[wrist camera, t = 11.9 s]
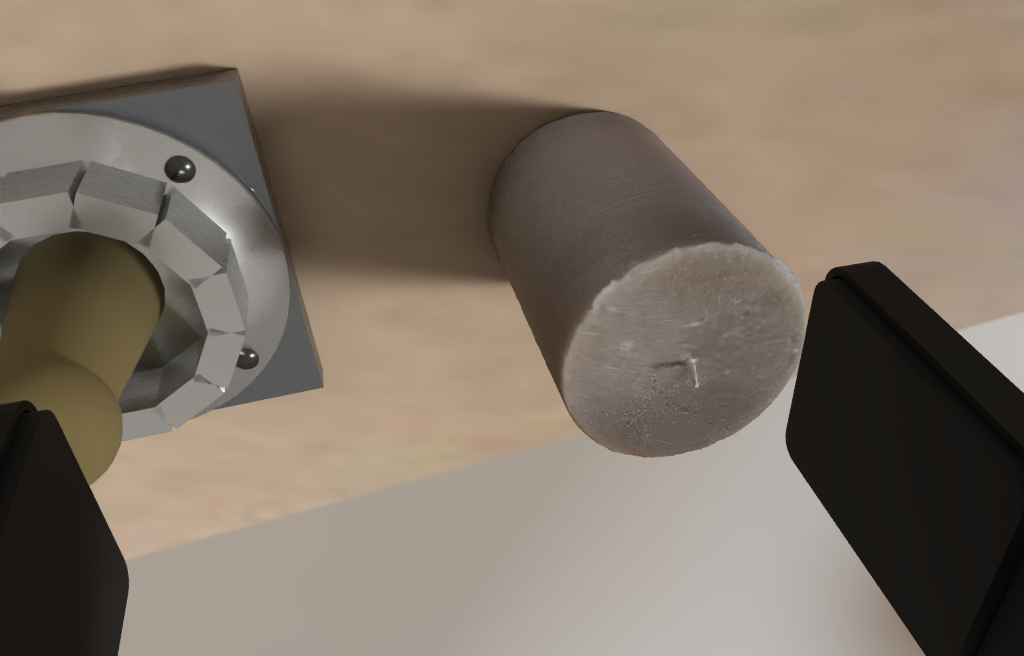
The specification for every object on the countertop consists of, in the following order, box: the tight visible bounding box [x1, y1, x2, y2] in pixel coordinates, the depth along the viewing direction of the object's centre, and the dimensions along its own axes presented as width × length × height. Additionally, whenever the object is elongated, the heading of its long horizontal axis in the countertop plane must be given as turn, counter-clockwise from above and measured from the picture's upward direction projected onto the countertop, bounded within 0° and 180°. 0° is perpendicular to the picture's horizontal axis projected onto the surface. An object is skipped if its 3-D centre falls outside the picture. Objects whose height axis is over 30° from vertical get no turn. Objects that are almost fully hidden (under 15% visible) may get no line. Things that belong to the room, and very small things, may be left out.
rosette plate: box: [0, 69, 323, 441], centre depth 37 cm, size 16×16×5 cm
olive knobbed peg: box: [0, 231, 165, 485], centre depth 33 cm, size 6×6×11 cm
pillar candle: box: [488, 112, 807, 457], centre depth 37 cm, size 10×10×15 cm
